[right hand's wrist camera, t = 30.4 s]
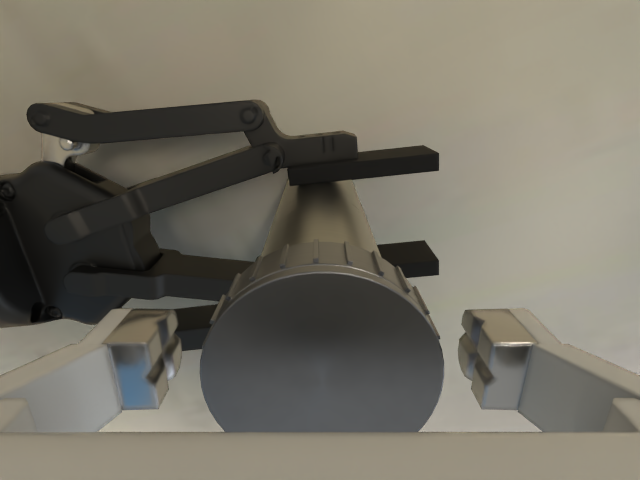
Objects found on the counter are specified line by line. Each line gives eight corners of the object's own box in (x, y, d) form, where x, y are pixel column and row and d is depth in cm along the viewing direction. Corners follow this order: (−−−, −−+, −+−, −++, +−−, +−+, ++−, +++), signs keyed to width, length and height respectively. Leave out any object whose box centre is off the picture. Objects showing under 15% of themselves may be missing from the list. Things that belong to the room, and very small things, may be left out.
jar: (279, 211, 26) (218, 396, 10) (296, 148, 24) (254, 247, 9) (341, 227, 26) (376, 430, 10) (361, 166, 25) (435, 294, 9)
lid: (408, 424, 11) (423, 478, 9) (216, 412, 11) (199, 466, 9) (445, 247, 9) (472, 278, 8) (214, 229, 9) (191, 258, 7)
